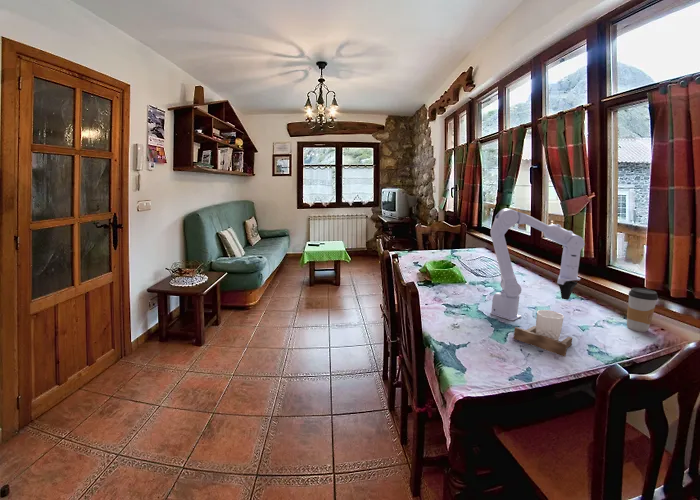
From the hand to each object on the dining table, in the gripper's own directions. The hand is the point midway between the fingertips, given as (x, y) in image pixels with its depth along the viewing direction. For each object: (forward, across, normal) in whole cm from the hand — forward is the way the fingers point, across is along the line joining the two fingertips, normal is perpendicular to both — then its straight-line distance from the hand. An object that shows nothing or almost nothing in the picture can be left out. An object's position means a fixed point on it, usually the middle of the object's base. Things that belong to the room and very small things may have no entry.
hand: (565, 299), depth 131 cm
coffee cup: (+10, +16, -20) cm, 27 cm away
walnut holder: (+9, -25, -4) cm, 27 cm away
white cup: (+10, -24, -4) cm, 26 cm away
